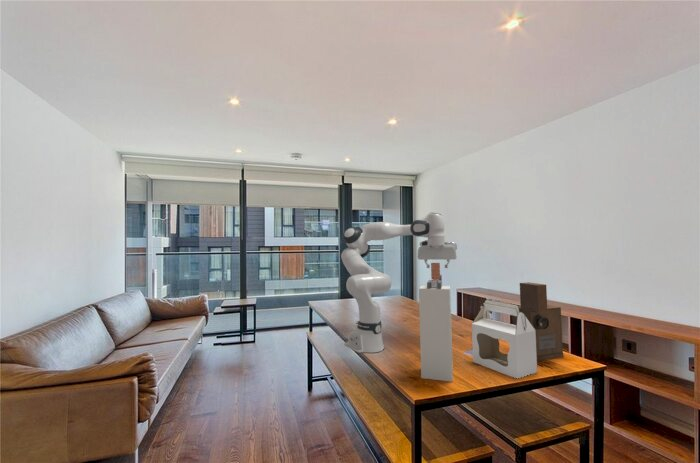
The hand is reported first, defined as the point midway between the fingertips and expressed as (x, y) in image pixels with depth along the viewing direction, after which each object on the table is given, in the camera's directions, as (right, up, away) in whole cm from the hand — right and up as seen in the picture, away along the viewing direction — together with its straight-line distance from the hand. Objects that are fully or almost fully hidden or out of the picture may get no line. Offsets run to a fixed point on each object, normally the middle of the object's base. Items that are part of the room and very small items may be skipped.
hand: (437, 268), depth 170 cm
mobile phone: (+17, -41, -13) cm, 46 cm away
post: (-11, -40, -40) cm, 57 cm away
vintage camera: (+42, -40, -21) cm, 62 cm away
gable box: (+20, -40, -33) cm, 55 cm away
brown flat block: (-8, -4, -29) cm, 30 cm away
